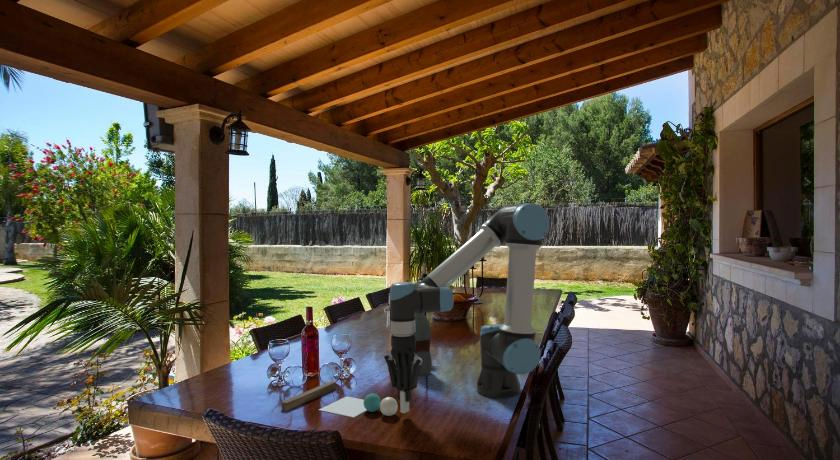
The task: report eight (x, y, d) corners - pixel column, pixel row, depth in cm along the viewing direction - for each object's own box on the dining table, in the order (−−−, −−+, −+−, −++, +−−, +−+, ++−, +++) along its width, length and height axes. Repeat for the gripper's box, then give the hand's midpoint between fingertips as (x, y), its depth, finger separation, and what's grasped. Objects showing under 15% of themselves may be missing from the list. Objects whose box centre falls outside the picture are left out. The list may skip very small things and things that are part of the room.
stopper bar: (335, 389, 183) (335, 382, 183) (287, 410, 162) (287, 403, 162) (330, 388, 184) (330, 381, 184) (281, 409, 163) (281, 401, 163)
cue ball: (387, 391, 159) (383, 407, 160) (378, 398, 154) (374, 414, 155) (402, 398, 157) (398, 414, 158) (393, 405, 152) (390, 421, 153)
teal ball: (386, 406, 161) (381, 389, 162) (376, 412, 156) (370, 394, 157) (373, 410, 163) (368, 393, 164) (363, 415, 158) (357, 398, 159)
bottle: (429, 377, 194) (427, 299, 194) (406, 376, 196) (404, 299, 196) (433, 370, 203) (432, 295, 203) (411, 369, 205) (409, 295, 205)
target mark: (380, 403, 167) (380, 402, 167) (353, 417, 155) (353, 417, 155) (346, 396, 174) (346, 396, 174) (318, 410, 162) (318, 409, 162)
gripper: (428, 333, 154) (429, 411, 154) (391, 329, 160) (393, 404, 160) (415, 338, 147) (417, 419, 147) (378, 334, 154) (380, 412, 154)
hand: (404, 411), depth 154 cm, fingers closed
